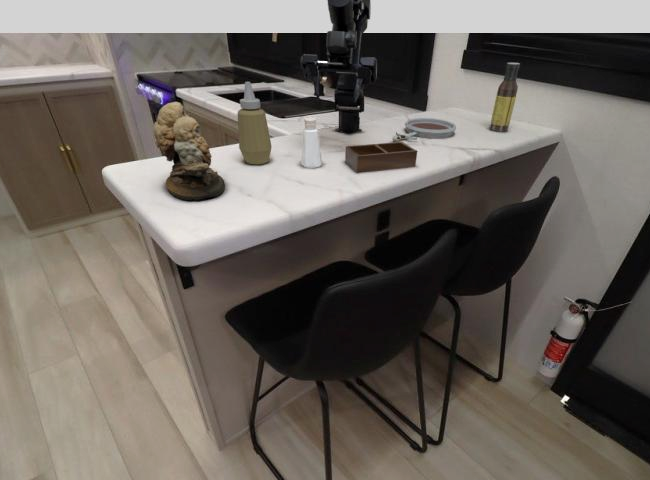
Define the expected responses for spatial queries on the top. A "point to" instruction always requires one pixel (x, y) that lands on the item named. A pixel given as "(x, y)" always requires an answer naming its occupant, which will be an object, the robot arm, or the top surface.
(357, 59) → the robot arm
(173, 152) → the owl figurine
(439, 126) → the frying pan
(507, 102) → the sauce bottle
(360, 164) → the divided wooden tray
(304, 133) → the pepper shaker
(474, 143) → the top surface
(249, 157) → the squeeze bottle
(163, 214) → the top surface
